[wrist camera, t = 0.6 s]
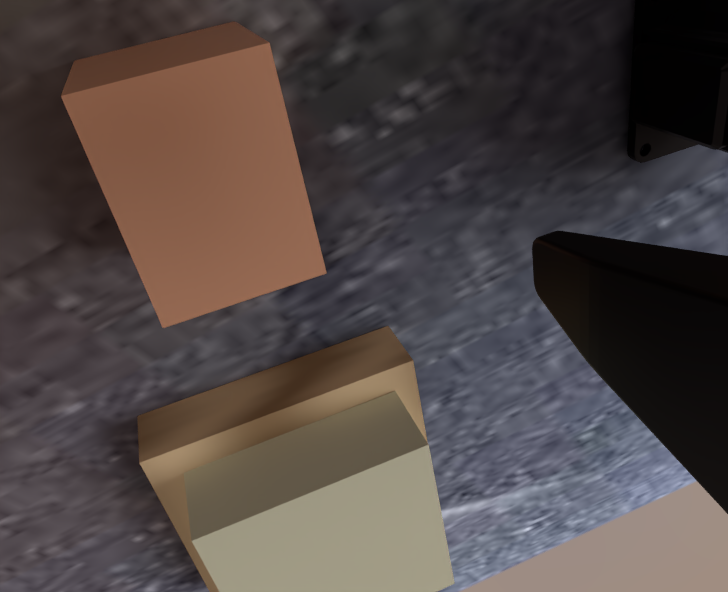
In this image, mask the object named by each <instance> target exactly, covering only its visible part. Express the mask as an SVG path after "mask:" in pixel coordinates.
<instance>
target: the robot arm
mask: <svg viewBox="0 0 728 592" xmlns="http://www.w3.org/2000/svg"><path fill="white" fill-rule="evenodd" d="M698 144H699V145H702V146H705V147H708V148H711V149H718V150H721V151H724V152H727V153H728V0H651V1H650V0H635V19H634V37H633V56H632V75H631V94H630V112H629V131H628V150H627V151H628V156H629V157H630V158H631V159H633V160H635V161H638V162H640V163H642V162H647V161H650V160H653V159H656V158H659V157H662V156H665V155H668V154H671V153H674V152H677V151H680V150H683V149H686V148H689V147H692V146H695V145H698ZM643 145H644V147H643V149H642V151H641V152H640V149H641V147H642V146H643ZM532 255H533V274H534V285H535V289H536V292H537V294H538V296H539V297H540V299H541V300H542V301H543V303H544V304H545V305H546V307H547V308H548V310H549V311H550V312H551V314H552V315H553V316H554V318H555V319H556V320H557V322H558V323H559V325H560V326H561V327H562V329H563V330H564V331H565V333H566V334H567V335H568V337H569V338H570V340H571V341H572V342H573V344H574V345H575V346H576V348H577V349H578V350H579V352H580V353H581V354H582V356H583V357H584V358H585V360H586V361H587V362H588V363H589V364H590V366H591V367H592V368H593V369H594V370H595V371H596V372H597V374H598V375H599V376H600V377H601V378H602V379H603V380H604V381H605V382H606V383H607V384H608V385H609V386H610V388H611V389H612V390H613V391H614V392H615V393H616V394H617V395H618V396H619V397H620V398H621V399H622V401H623V402H624V403H625V404H626V405H627V406H628V407H629V408H630V409H631V410H632V411H633V412H634V413H635V415H636V416H637V417H638V418H639V419H640V420H641V421H642V422H643V423H644V424H645V425H646V426H647V427H648V429H649V430H650V431H651V432H652V433H653V434H654V435H655V436H656V437H657V438H658V439H659V440H660V441H661V443H662V444H663V445H664V446H665V447H666V448H667V449H668V450H669V451H670V452H671V453H672V454H673V455H674V457H675V458H676V459H677V460H678V461H679V462H680V463H681V464H682V465H683V466H684V467H685V468H686V470H687V471H688V472H689V473H690V474H691V475H692V476H693V477H694V478H695V479H696V480H697V481H698V482H699V484H701V486H702V487H703V488H704V489H705V490H706V491H707V492H708V493H709V494H710V495H711V496H712V497H713V499H714V500H715V501H716V502H717V503H718V504H719V505H720V506H721V507H722V508H723V509H724V510H725V512H726V513H727V514H728V256H724V255H717V254H711V253H704V252H698V251H691V250H684V249H678V248H671V247H664V246H658V245H651V244H645V243H638V242H631V241H625V240H618V239H611V238H605V237H598V236H592V235H585V234H578V233H572V232H565V231H554V232H551V233H549V234H546V235H543V236H540V237H538V238H536V239H535V241H534V242H533V246H532Z"/></svg>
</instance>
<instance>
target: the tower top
mask: <svg viewBox="0 0 728 592" xmlns="http://www.w3.org/2000/svg"><path fill="white" fill-rule="evenodd" d="M184 481H185V490H186V498H187V507H188V515H189V523H190V532H191V540H192V543H193V545H194V546H195V548H196V550H197V552H198V554H199V555H200V557H201V559H202V561H203V563H204V565H205V566H206V568H207V570H208V572H209V574H210V575H211V577H212V579H213V581H214V583H215V585H216V586H217V588H218V590H219V592H437V591H439V590H441V589H443V588H446V587H448V586H450V585H452V584H454V578H453V573H452V567H451V562H450V557H449V551H448V546H447V541H446V535H445V530H444V525H443V519H442V514H441V509H440V503H439V498H438V493H437V487H436V482H435V477H434V471H433V466H432V461H431V455H430V450H429V445H428V443H427V441H426V440H425V438H424V436H423V435H422V433H421V432H420V430H419V428H418V427H417V425H416V424H415V422H414V420H413V419H412V417H411V415H410V414H409V412H408V411H407V409H406V407H405V406H404V404H403V402H402V401H401V399H400V398H399V396H398V394H397V393H396V391H394V392H391V393H389V394H386V395H383V396H381V397H378V398H376V399H373V400H370V401H368V402H365V403H363V404H360V405H357V406H355V407H352V408H350V409H347V410H345V411H342V412H339V413H337V414H334V415H332V416H329V417H326V418H324V419H321V420H319V421H316V422H313V423H311V424H308V425H306V426H303V427H300V428H298V429H295V430H293V431H290V432H288V433H285V434H282V435H280V436H277V437H275V438H272V439H269V440H267V441H264V442H262V443H259V444H257V445H254V446H251V447H249V448H246V449H244V450H241V451H239V452H236V453H233V454H231V455H228V456H226V457H223V458H221V459H218V460H216V461H213V462H210V463H208V464H205V465H203V466H200V467H198V468H195V469H193V470H190V471H187V472H185V473H184Z"/></svg>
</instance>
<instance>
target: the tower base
mask: <svg viewBox="0 0 728 592" xmlns="http://www.w3.org/2000/svg"><path fill="white" fill-rule="evenodd" d="M394 391H396V393H397V394H398V396H399V398H400V399H401V401H402V402H403V404H404V406H405V407H406V409H407V411H408V412H409V414H410V415H411V417H412V419H413V420H414V422H415V424H416V425H417V427H418V428H419V430H420V432H421V433H422V435H423V436H424V438H425V440H426V441H427V437H426V432H425V426H424V420H423V414H422V409H421V403H420V397H419V392H418V386H417V380H416V374H415V369H414V363H413V360H412V358H411V357H410V355H409V354H408V353H407V351H406V350H405V349H404V347H403V346H402V344H401V343H400V342H399V340H398V339H397V337H396V336H395V335H394V333H393V332H392V330H391V329H390V328H389V326H386V327H383V328H381V329H378V330H375V331H372V332H370V333H367V334H364V335H361V336H358V337H356V338H353V339H350V340H347V341H345V342H342V343H339V344H336V345H333V346H331V347H328V348H325V349H322V350H320V351H317V352H314V353H311V354H308V355H306V356H303V357H300V358H297V359H294V360H292V361H289V362H286V363H283V364H281V365H278V366H275V367H272V368H269V369H267V370H264V371H261V372H258V373H256V374H253V375H250V376H247V377H244V378H242V379H239V380H236V381H233V382H231V383H228V384H225V385H222V386H219V387H217V388H214V389H211V390H208V391H205V392H203V393H200V394H197V395H194V396H192V397H189V398H186V399H183V400H180V401H178V402H175V403H172V404H169V405H167V406H164V407H161V408H158V409H155V410H153V411H150V412H147V413H144V414H142V415H139V416H137V419H138V442H139V463H140V465H141V467H142V469H143V470H144V472H145V474H146V476H147V478H148V479H149V481H150V483H151V485H152V487H153V489H154V490H155V492H156V494H157V496H158V498H159V500H160V501H161V503H162V505H163V507H164V509H165V511H166V512H167V514H168V516H169V518H170V520H171V522H172V523H173V525H174V527H175V529H176V531H177V533H178V534H179V536H180V538H181V540H182V542H183V544H184V545H185V547H186V549H187V551H188V553H189V555H190V556H191V558H192V560H193V562H194V564H195V566H196V567H197V569H198V571H199V573H200V575H201V577H202V578H203V580H204V582H205V584H206V586H207V588H208V589H209V591H210V592H219V590H218V588H217V586H216V585H215V583H214V581H213V579H212V577H211V575H210V574H209V572H208V570H207V568H206V566H205V565H204V563H203V561H202V559H201V557H200V555H199V554H198V552H197V550H196V548H195V546H194V545H193V543H192V540H191V532H190V523H189V515H188V507H187V498H186V490H185V481H184V473H185V472H187V471H190V470H193V469H195V468H198V467H200V466H203V465H205V464H208V463H210V462H213V461H216V460H218V459H221V458H223V457H226V456H228V455H231V454H233V453H236V452H239V451H241V450H244V449H246V448H249V447H251V446H254V445H257V444H259V443H262V442H264V441H267V440H269V439H272V438H275V437H277V436H280V435H282V434H285V433H288V432H290V431H293V430H295V429H298V428H300V427H303V426H306V425H308V424H311V423H313V422H316V421H319V420H321V419H324V418H326V417H329V416H332V415H334V414H337V413H339V412H342V411H345V410H347V409H350V408H352V407H355V406H357V405H360V404H363V403H365V402H368V401H370V400H373V399H376V398H378V397H381V396H383V395H386V394H389V393H391V392H394Z"/></svg>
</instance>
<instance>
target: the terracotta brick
mask: <svg viewBox="0 0 728 592" xmlns="http://www.w3.org/2000/svg"><path fill="white" fill-rule="evenodd" d="M61 98H62V100H63V102H64V105H65V107H66V109H67V111H68V114H69V116H70V118H71V120H72V123H73V125H74V127H75V130H76V132H77V134H78V136H79V139H80V141H81V143H82V145H83V148H84V150H85V152H86V155H87V157H88V159H89V161H90V164H91V166H92V168H93V170H94V173H95V175H96V177H97V180H98V182H99V184H100V186H101V189H102V191H103V193H104V195H105V198H106V200H107V202H108V205H109V207H110V209H111V211H112V214H113V216H114V218H115V220H116V223H117V225H118V227H119V229H120V232H121V234H122V236H123V239H124V241H125V243H126V245H127V248H128V250H129V252H130V254H131V257H132V259H133V261H134V264H135V266H136V268H137V270H138V273H139V275H140V277H141V279H142V282H143V284H144V286H145V289H146V291H147V293H148V295H149V298H150V300H151V302H152V304H153V307H154V309H155V311H156V314H157V316H158V318H159V320H160V323H161V325H162V327H163V328H165V327H168V326H171V325H174V324H177V323H180V322H183V321H186V320H189V319H192V318H195V317H198V316H201V315H204V314H207V313H210V312H213V311H216V310H219V309H222V308H225V307H228V306H231V305H234V304H237V303H240V302H243V301H246V300H248V299H251V298H254V297H257V296H260V295H263V294H266V293H269V292H272V291H275V290H278V289H281V288H284V287H287V286H290V285H293V284H296V283H299V282H302V281H305V280H308V279H311V278H314V277H317V276H320V275H323V274H326V269H325V265H324V261H323V257H322V253H321V249H320V245H319V241H318V236H317V232H316V228H315V224H314V220H313V216H312V212H311V208H310V204H309V200H308V196H307V192H306V188H305V184H304V180H303V176H302V172H301V168H300V164H299V160H298V156H297V152H296V148H295V144H294V140H293V136H292V132H291V128H290V124H289V120H288V116H287V112H286V108H285V104H284V100H283V96H282V92H281V87H280V83H279V79H278V75H277V71H276V67H275V63H274V59H273V55H272V51H271V47H270V43H269V42H267V41H266V40H264V39H263V38H261V37H259V36H258V35H256V34H254V33H253V32H251V31H250V30H248V29H246V28H245V27H243V26H241V25H240V24H238V23H237V22H235V21H233V22H229V23H225V24H221V25H217V26H213V27H209V28H205V29H201V30H197V31H193V32H189V33H185V34H181V35H177V36H172V37H168V38H164V39H160V40H156V41H152V42H148V43H144V44H140V45H136V46H132V47H128V48H124V49H120V50H116V51H111V52H107V53H103V54H99V55H95V56H91V57H87V58H83V59H79V60H75V61H74V63H73V65H72V68H71V70H70V73H69V76H68V78H67V81H66V84H65V86H64V89H63V91H62V94H61Z"/></svg>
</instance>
